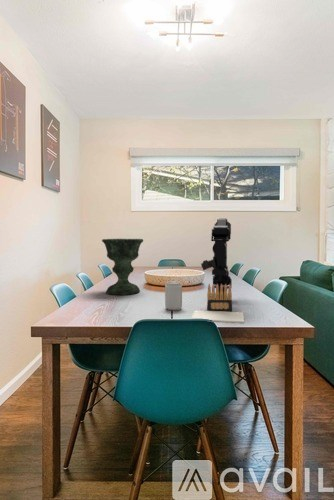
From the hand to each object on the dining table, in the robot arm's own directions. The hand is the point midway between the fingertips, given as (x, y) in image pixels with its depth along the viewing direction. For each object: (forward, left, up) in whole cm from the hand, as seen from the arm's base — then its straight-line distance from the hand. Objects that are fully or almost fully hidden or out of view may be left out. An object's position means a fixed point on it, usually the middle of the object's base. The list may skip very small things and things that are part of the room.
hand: (220, 288), depth 149 cm
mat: (+17, 0, -8) cm, 19 cm away
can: (+7, -20, -9) cm, 23 cm away
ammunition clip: (+8, 0, -9) cm, 12 cm away
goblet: (-26, -55, -9) cm, 61 cm away
